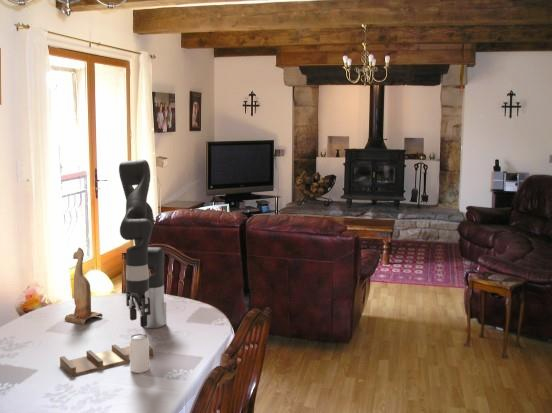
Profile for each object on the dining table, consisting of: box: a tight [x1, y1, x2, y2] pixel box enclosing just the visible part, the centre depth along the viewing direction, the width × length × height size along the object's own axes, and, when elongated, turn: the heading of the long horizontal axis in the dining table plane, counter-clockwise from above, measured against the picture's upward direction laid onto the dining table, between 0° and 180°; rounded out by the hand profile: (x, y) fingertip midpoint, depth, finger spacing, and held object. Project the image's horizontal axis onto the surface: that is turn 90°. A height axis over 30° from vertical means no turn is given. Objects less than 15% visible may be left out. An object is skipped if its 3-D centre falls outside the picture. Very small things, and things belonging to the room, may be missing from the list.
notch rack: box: [59, 344, 154, 377], centre depth 220 cm, size 30×12×3 cm, turn 127°
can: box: [129, 333, 150, 374], centre depth 212 cm, size 6×6×12 cm
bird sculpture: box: [64, 247, 103, 326], centre depth 262 cm, size 11×12×32 cm
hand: (138, 323), depth 210 cm, fingers open, 8 cm apart
